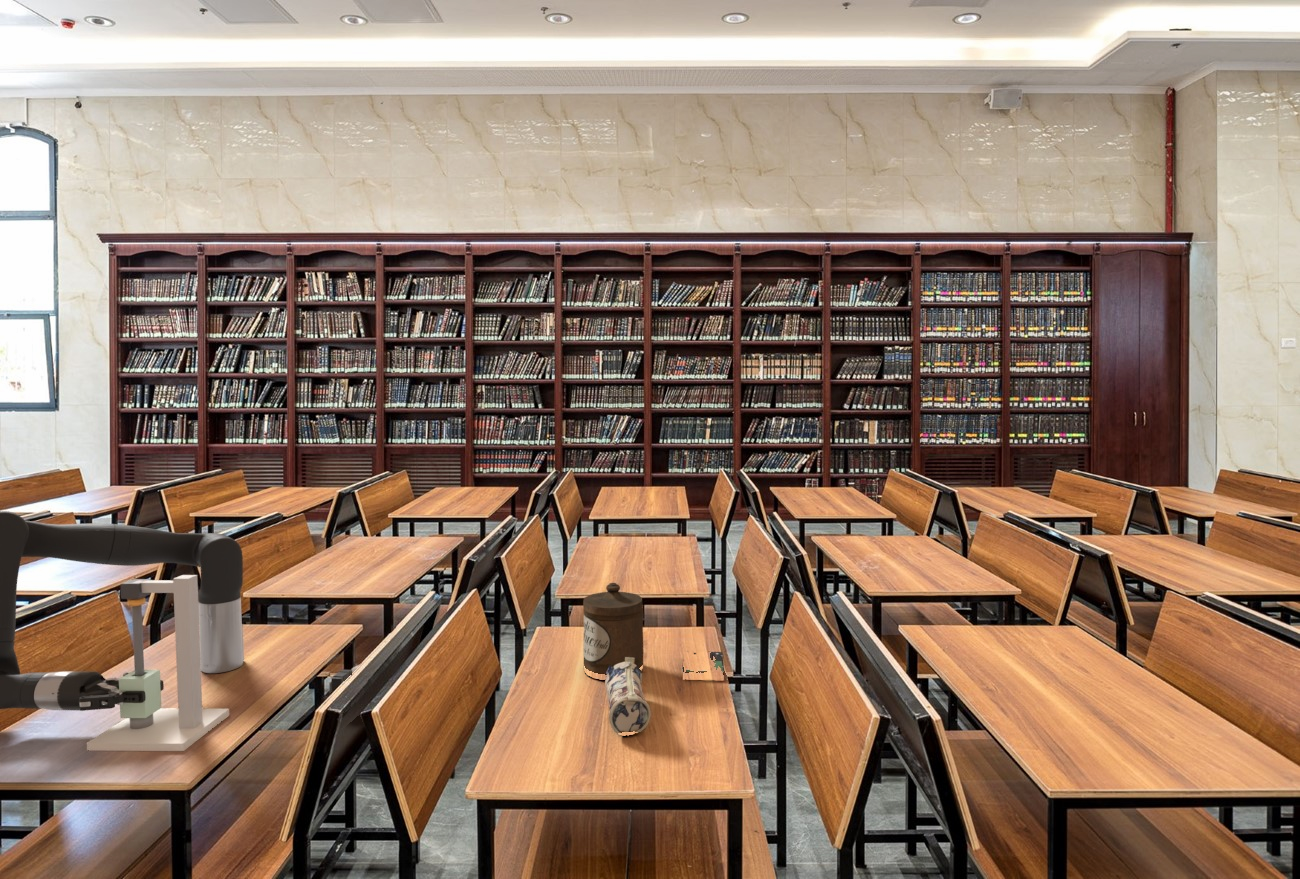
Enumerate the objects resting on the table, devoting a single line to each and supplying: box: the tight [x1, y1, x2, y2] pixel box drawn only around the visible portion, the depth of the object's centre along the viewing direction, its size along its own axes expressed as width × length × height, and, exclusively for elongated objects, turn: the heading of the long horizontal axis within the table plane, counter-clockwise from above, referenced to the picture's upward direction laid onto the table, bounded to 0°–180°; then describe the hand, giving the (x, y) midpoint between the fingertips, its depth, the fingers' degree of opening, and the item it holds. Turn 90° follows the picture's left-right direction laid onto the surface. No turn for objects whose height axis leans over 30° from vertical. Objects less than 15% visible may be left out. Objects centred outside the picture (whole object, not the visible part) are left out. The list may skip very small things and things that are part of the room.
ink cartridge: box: [330, 669, 352, 691], centre depth 167 cm, size 5×2×8 cm, turn 173°
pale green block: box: [118, 669, 163, 719], centre depth 155 cm, size 5×5×8 cm
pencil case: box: [604, 657, 652, 735], centre depth 163 cm, size 22×8×10 cm, turn 6°
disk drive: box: [681, 651, 726, 677], centre depth 191 cm, size 10×3×15 cm
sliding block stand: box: [86, 574, 230, 752], centre depth 155 cm, size 16×19×32 cm
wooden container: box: [582, 582, 644, 675], centre depth 190 cm, size 15×15×22 cm
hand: (153, 691), depth 155 cm, fingers closed on pale green block, 5 cm apart
